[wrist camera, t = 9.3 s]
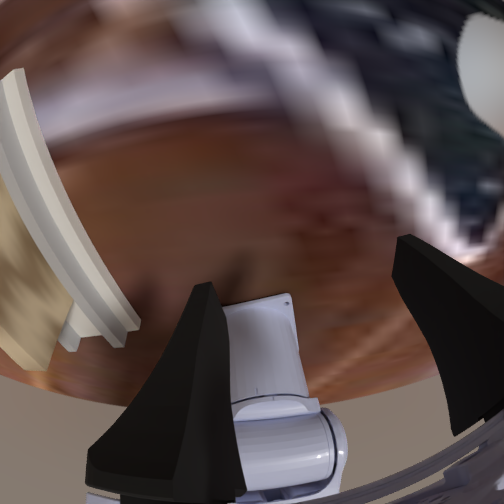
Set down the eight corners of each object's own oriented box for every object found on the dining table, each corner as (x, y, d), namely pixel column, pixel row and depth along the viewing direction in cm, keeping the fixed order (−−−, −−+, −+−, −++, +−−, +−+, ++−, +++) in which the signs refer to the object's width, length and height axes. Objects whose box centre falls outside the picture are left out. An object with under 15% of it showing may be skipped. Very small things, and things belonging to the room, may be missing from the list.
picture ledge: (141, 320, 24) (136, 345, 22) (68, 330, 24) (61, 352, 22) (23, 68, 10) (-4, 72, 7) (-43, 133, 10) (-64, 146, 8)
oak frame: (77, 292, 20) (46, 371, 13) (54, 297, 20) (24, 370, 13) (7, 167, 13) (-65, 228, 6) (-13, 183, 13) (-76, 242, 6)
